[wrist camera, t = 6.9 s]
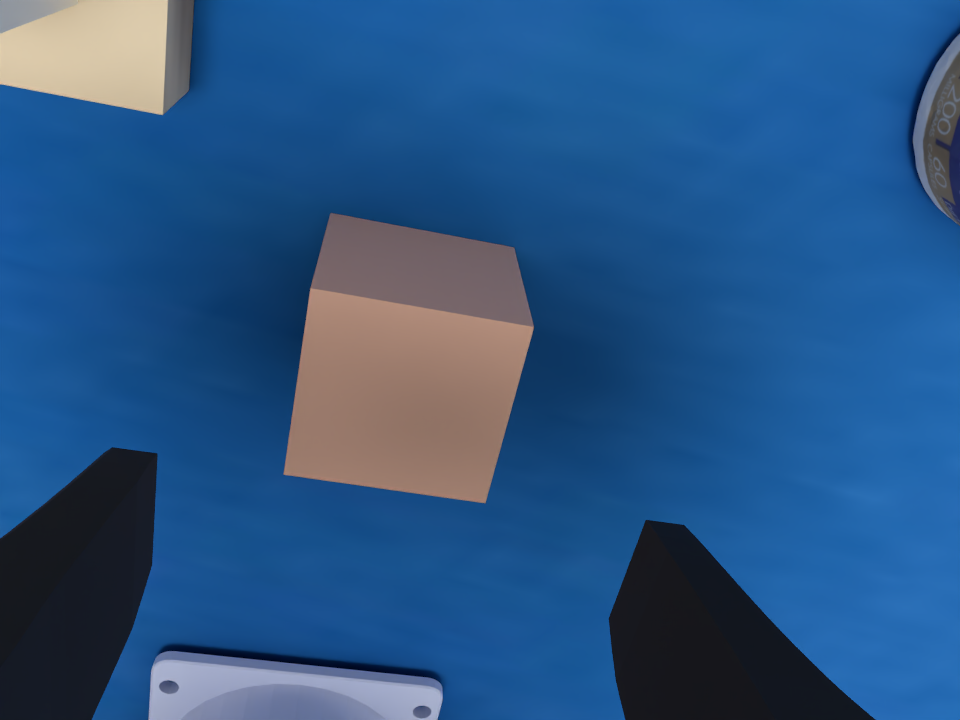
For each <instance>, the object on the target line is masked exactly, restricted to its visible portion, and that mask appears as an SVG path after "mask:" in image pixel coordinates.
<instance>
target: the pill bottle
mask: <svg viewBox="0 0 960 720" xmlns="http://www.w3.org/2000/svg"><path fill="white" fill-rule="evenodd" d="M913 146H914V152H915V161H916V168H917V172H918V175H919V178H920V180H921V182H922V185H923V187H924V189H925V191H926V192H927V194H928V195H929V197H930V198H931V200H932V201H933V202H934V204H935V205H936V206H937V207H938V208H939V209H940V210H941V211H942V212H943V213H944V214H946V215H947V216H948V217H949V218H951V219H952V220H953V221H954V222H956V223H957V224H958V225H959V226H960V34H959V35H958V36H957V37H956V38H955V39H954V40H953V42H952V43H951V44H950V45H949V47H948V48H947V50H946V51H945V52H944V54H943V55H942V57H941V58H940V60H939V61H938V62H937V64H936V66H935V68H934V70H933V72H932V74H931V76H930V78H929V80H928V82H927V85H926V87H925V90H924V93H923V95H922V99H921V102H920V106H919V109H918V112H917V118H916V123H915V128H914V134H913Z"/></svg>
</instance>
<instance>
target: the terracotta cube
mask: <svg viewBox="0 0 960 720" xmlns="http://www.w3.org/2000/svg"><path fill="white" fill-rule="evenodd" d="M533 329H534V325H533V321H532V317H531V313H530V309H529V305H528V301H527V297H526V293H525V289H524V285H523V281H522V277H521V273H520V269H519V265H518V261H517V257H516V253H515V249H514V247H509V246H504V245H499V244H494V243H488V242H483V241H478V240H472V239H467V238H462V237H456V236H451V235H446V234H440V233H435V232H430V231H425V230H419V229H414V228H409V227H403V226H398V225H393V224H387V223H382V222H377V221H371V220H366V219H361V218H355V217H350V216H345V215H340V214H334V213H330V217H329V220H328V224H327V228H326V232H325V235H324V239H323V243H322V247H321V250H320V254H319V258H318V262H317V265H316V269H315V273H314V277H313V280H312V284H311V288H310V295H309V302H308V309H307V315H306V322H305V329H304V336H303V343H302V350H301V357H300V364H299V371H298V378H297V385H296V392H295V399H294V406H293V413H292V420H291V427H290V434H289V441H288V448H287V455H286V462H285V469H284V475H290V476H297V477H304V478H311V479H318V480H325V481H332V482H339V483H346V484H353V485H360V486H367V487H374V488H381V489H388V490H395V491H402V492H409V493H417V494H424V495H431V496H438V497H445V498H452V499H459V500H466V501H473V502H480V503H486V499H487V495H488V492H489V488H490V485H491V481H492V477H493V474H494V470H495V466H496V463H497V459H498V456H499V452H500V448H501V445H502V441H503V438H504V434H505V430H506V427H507V423H508V419H509V416H510V412H511V409H512V405H513V401H514V398H515V394H516V391H517V387H518V383H519V380H520V376H521V372H522V369H523V365H524V362H525V358H526V354H527V351H528V347H529V343H530V340H531V336H532V333H533Z"/></svg>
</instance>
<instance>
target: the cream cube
mask: <svg viewBox="0 0 960 720" xmlns="http://www.w3.org/2000/svg"><path fill="white" fill-rule="evenodd" d="M77 4H78V0H0V34H1V33H3V32H6V31H8V30H11V29H14V28H16V27H19V26H22V25H24V24H27V23H29V22H32V21H35V20H37V19H40V18H43V17H45V16H48V15H50V14H53V13H56V12H58V11H61V10H63V9H66V8H69V7H71V6H74V5H77Z"/></svg>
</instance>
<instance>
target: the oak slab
mask: <svg viewBox="0 0 960 720" xmlns="http://www.w3.org/2000/svg"><path fill="white" fill-rule="evenodd" d="M193 11H194V0H78V4H77V5H74V6H71V7H69V8H66V9H63V10H61V11H58V12H56V13H53V14H50V15H48V16H45V17H43V18H40V19H37V20H35V21H32V22H29V23H27V24H24V25H22V26H19V27H16V28H14V29H11V30H8V31H6V32H3V33H1V34H0V84H3V85H8V86H13V87H19V88H24V89H29V90H34V91H40V92H45V93H50V94H55V95H61V96H66V97H71V98H76V99H82V100H87V101H92V102H97V103H103V104H108V105H113V106H118V107H124V108H129V109H134V110H139V111H145V112H150V113H155V114H160V115H163V114H164V113H166V112H167V111H168V110H169V109H170V108H171V107H172V106H173V105H174V104H175V103H176V102H177V101H178V100H179V99H180V98H182V97H183V96H184V95H185V94H186V93H187V92H188V91H189V80H190V63H191V45H192V28H193Z"/></svg>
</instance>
